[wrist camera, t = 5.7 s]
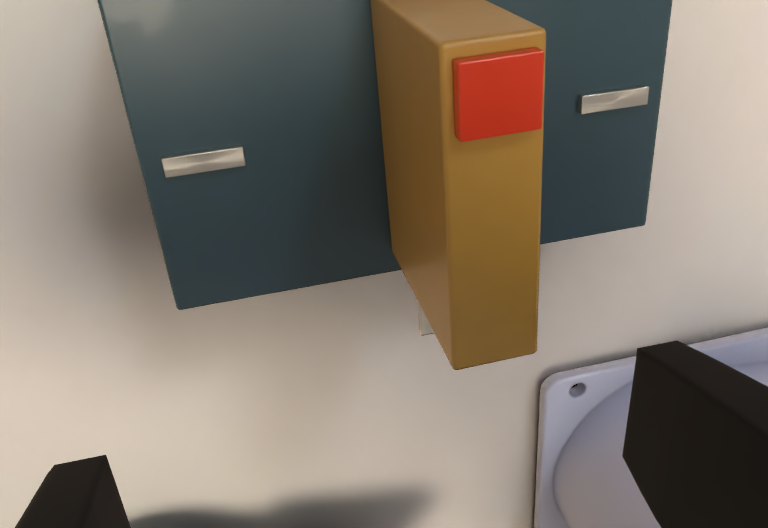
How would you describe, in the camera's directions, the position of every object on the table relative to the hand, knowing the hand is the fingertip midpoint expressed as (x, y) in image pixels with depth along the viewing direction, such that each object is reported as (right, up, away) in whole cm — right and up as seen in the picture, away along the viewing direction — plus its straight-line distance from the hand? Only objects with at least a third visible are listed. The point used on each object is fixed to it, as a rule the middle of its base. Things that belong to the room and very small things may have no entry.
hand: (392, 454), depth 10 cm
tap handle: (+1, +5, +4) cm, 6 cm away
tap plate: (0, +7, +6) cm, 9 cm away
